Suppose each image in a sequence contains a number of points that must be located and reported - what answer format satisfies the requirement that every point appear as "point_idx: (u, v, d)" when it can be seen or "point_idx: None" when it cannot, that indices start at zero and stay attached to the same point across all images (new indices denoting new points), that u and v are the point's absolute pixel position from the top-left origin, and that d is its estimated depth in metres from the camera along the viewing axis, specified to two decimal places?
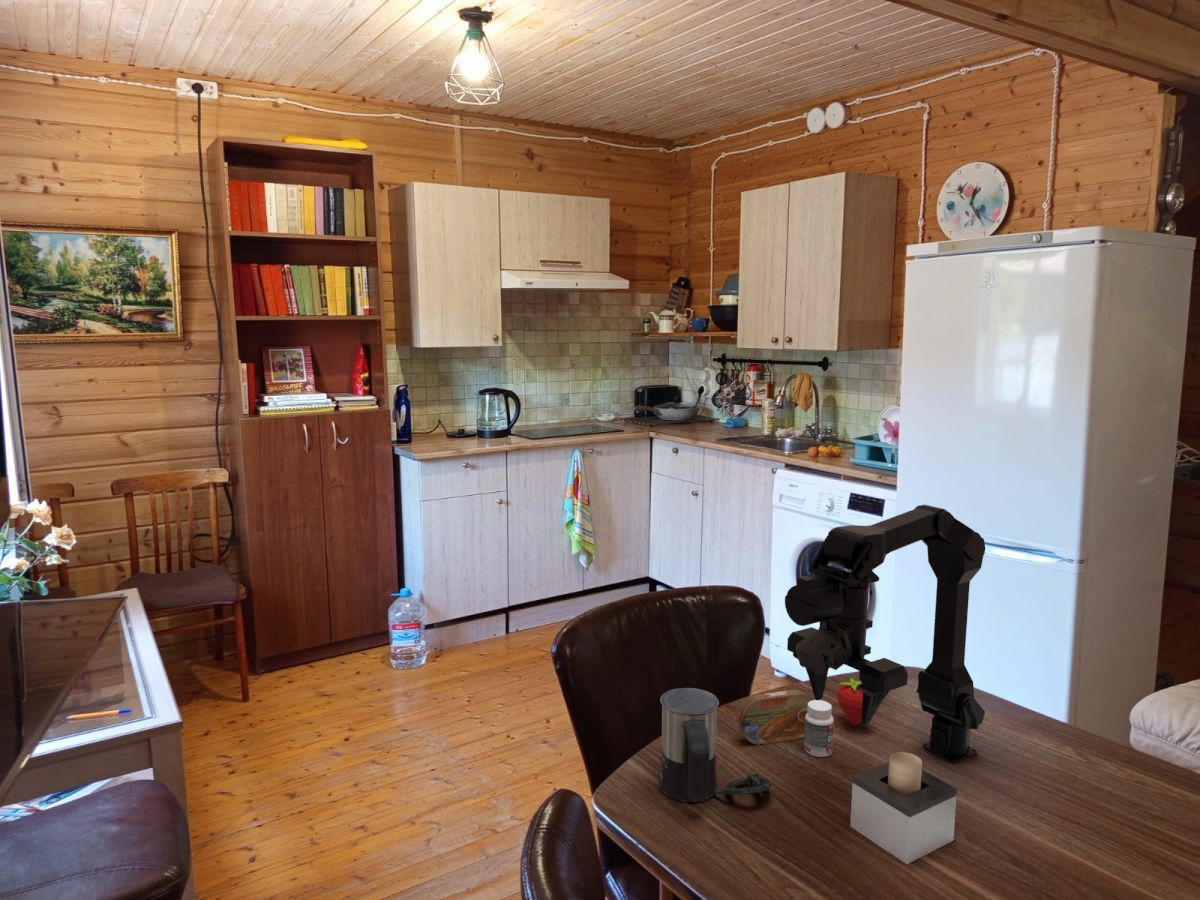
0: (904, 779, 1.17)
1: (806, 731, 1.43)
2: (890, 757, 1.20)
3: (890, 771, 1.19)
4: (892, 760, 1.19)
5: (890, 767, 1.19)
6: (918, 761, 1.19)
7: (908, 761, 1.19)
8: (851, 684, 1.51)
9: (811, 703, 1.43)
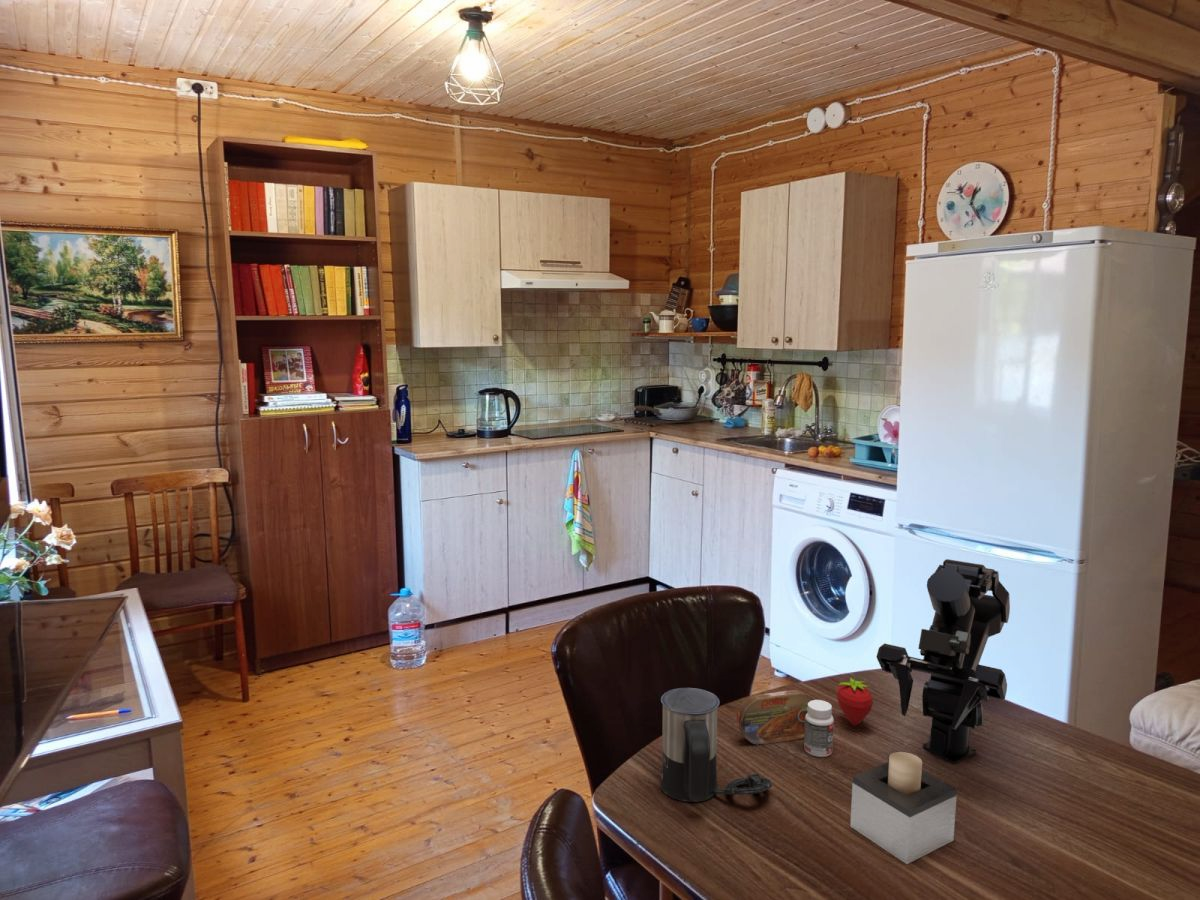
0: (904, 779, 1.17)
1: (806, 731, 1.43)
2: (890, 757, 1.20)
3: (890, 771, 1.19)
4: (892, 760, 1.19)
5: (890, 767, 1.19)
6: (918, 761, 1.19)
7: (908, 761, 1.19)
8: (851, 684, 1.51)
9: (811, 703, 1.43)
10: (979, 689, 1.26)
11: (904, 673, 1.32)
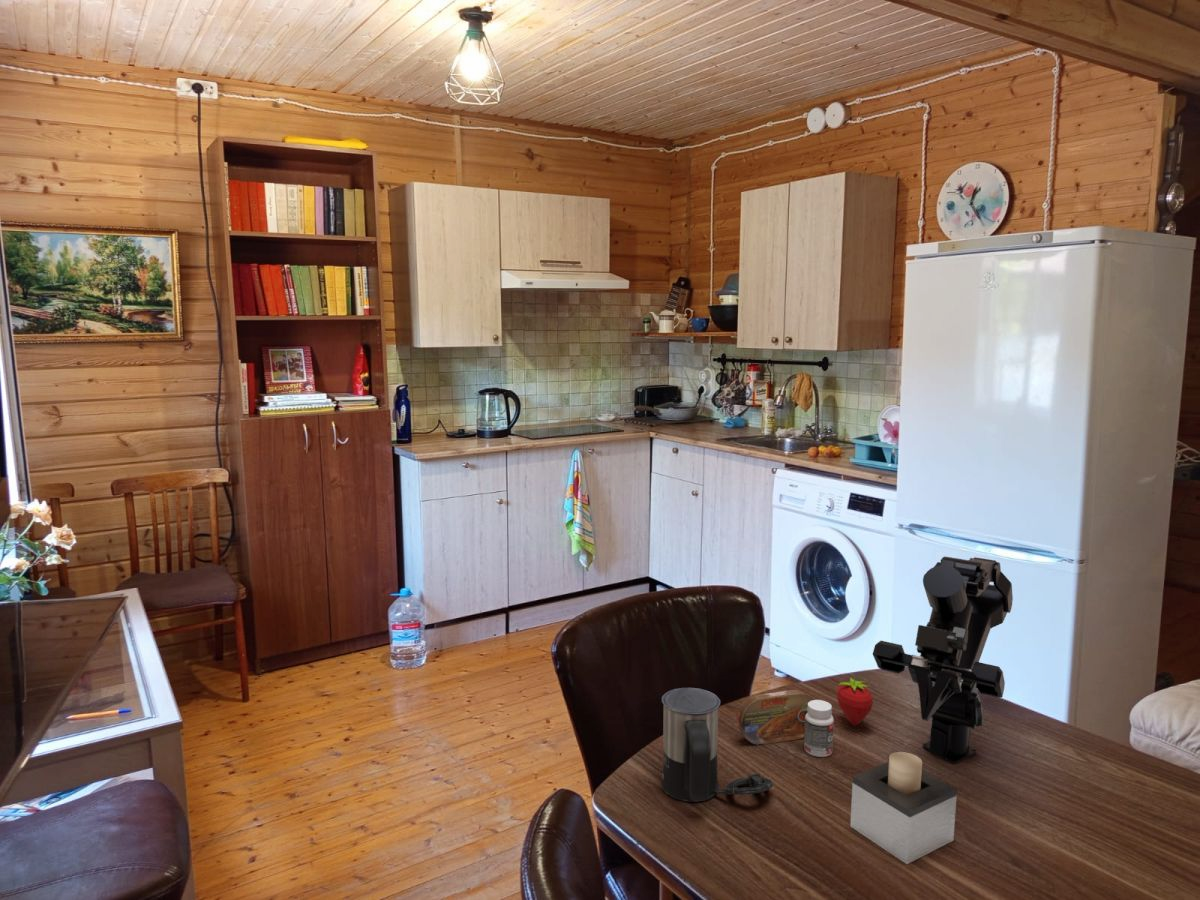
0: (904, 779, 1.17)
1: (806, 731, 1.43)
2: (890, 757, 1.20)
3: (890, 771, 1.19)
4: (892, 760, 1.19)
5: (890, 767, 1.19)
6: (918, 761, 1.19)
7: (908, 761, 1.19)
8: (851, 684, 1.51)
9: (811, 703, 1.43)
10: (951, 680, 1.27)
11: (923, 676, 1.28)
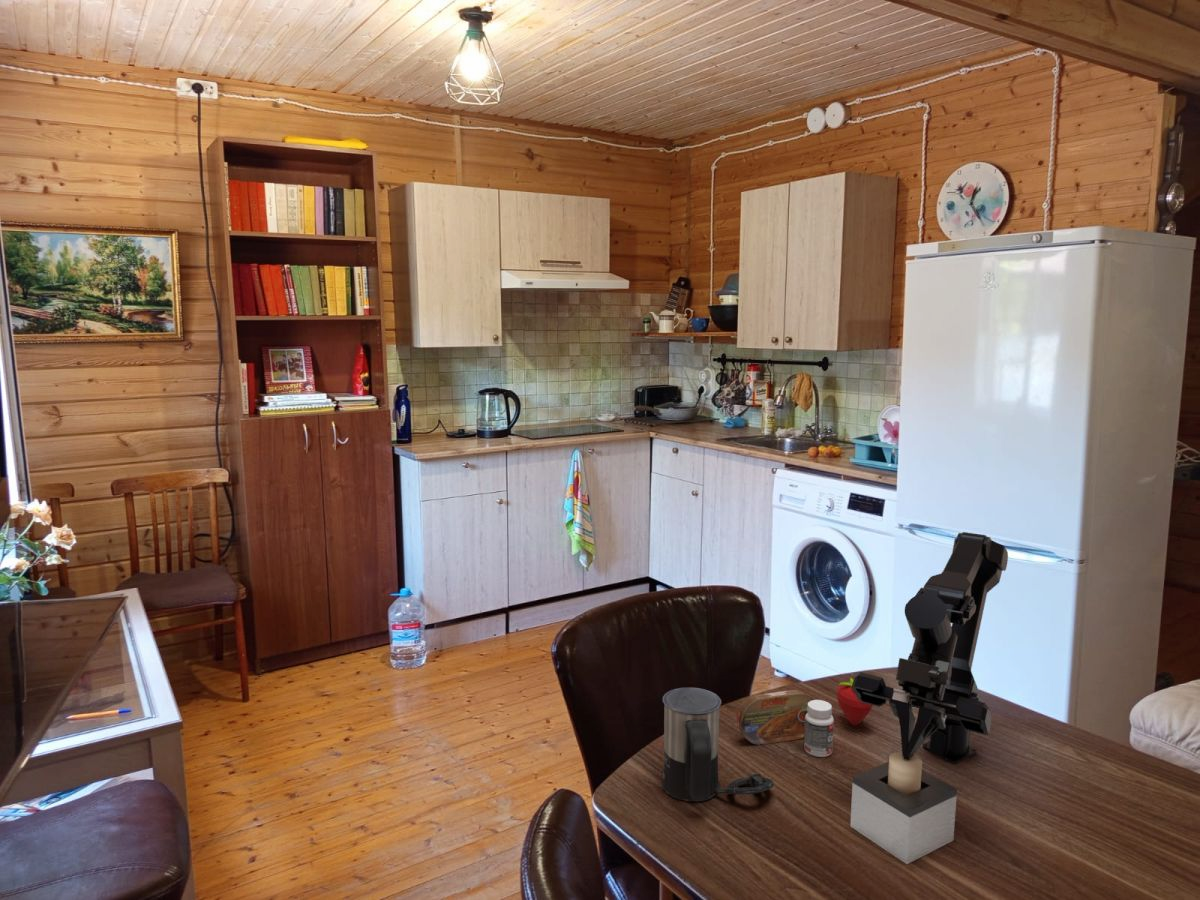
0: (904, 779, 1.17)
1: (806, 731, 1.43)
2: (890, 757, 1.20)
3: (890, 771, 1.19)
4: (892, 760, 1.19)
5: (890, 767, 1.19)
6: (918, 761, 1.19)
7: (908, 761, 1.19)
8: (851, 684, 1.51)
9: (811, 703, 1.43)
10: (934, 717, 1.19)
11: (905, 712, 1.21)
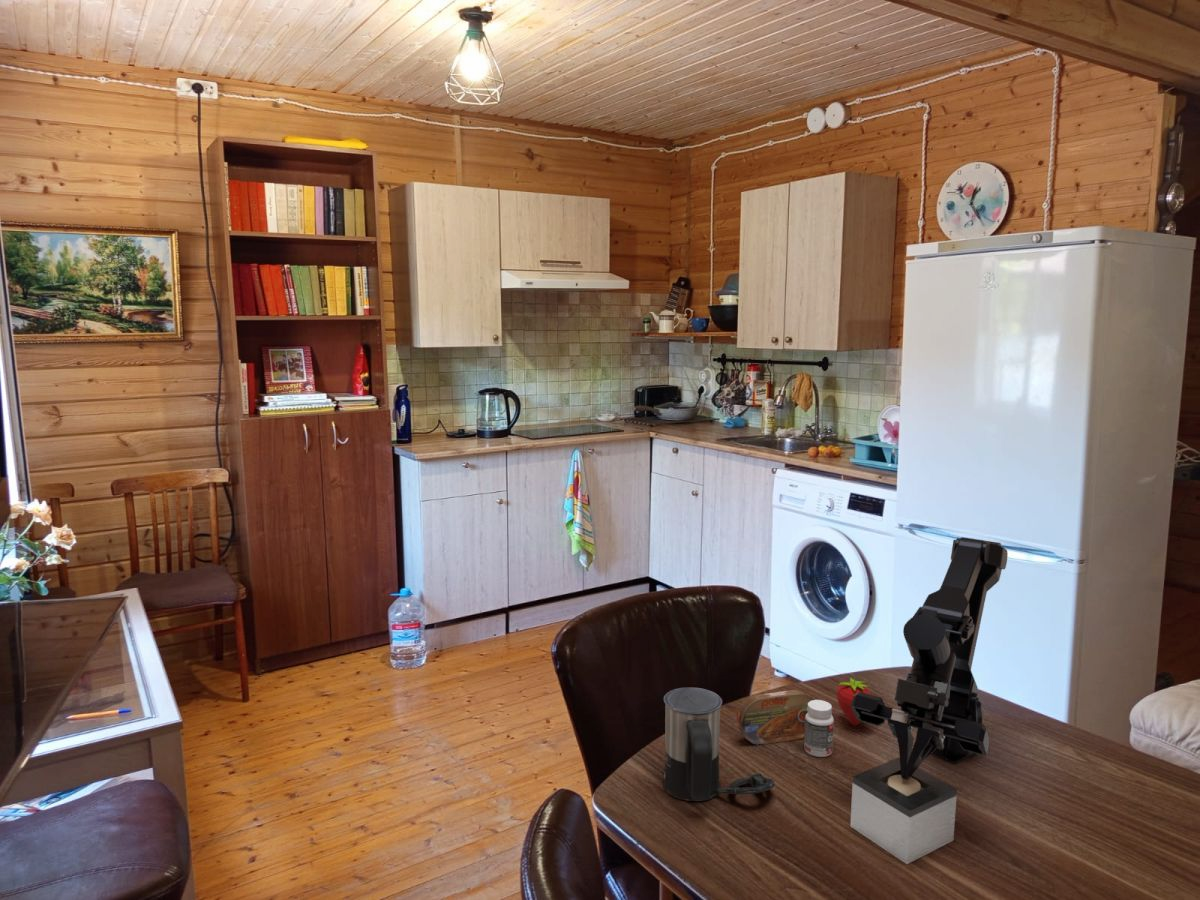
0: None
1: (806, 731, 1.43)
2: (888, 780, 1.20)
3: None
4: (891, 783, 1.19)
5: None
6: (917, 784, 1.19)
7: (906, 784, 1.19)
8: (851, 684, 1.51)
9: (811, 703, 1.43)
10: (933, 737, 1.20)
11: (903, 732, 1.21)
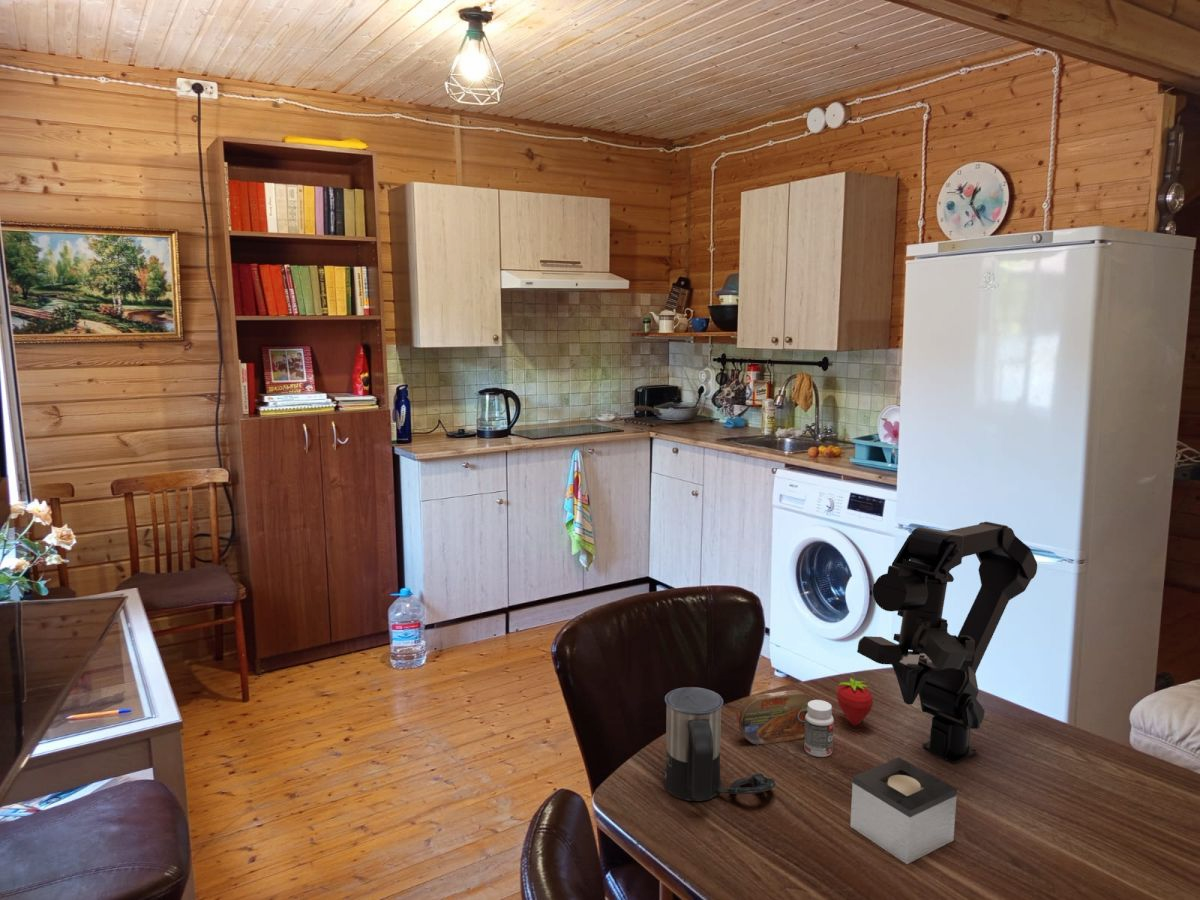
0: None
1: (806, 731, 1.43)
2: (888, 780, 1.20)
3: None
4: (891, 783, 1.19)
5: None
6: (917, 784, 1.19)
7: (906, 784, 1.19)
8: (851, 684, 1.51)
9: (811, 703, 1.43)
10: None
11: (916, 672, 1.31)
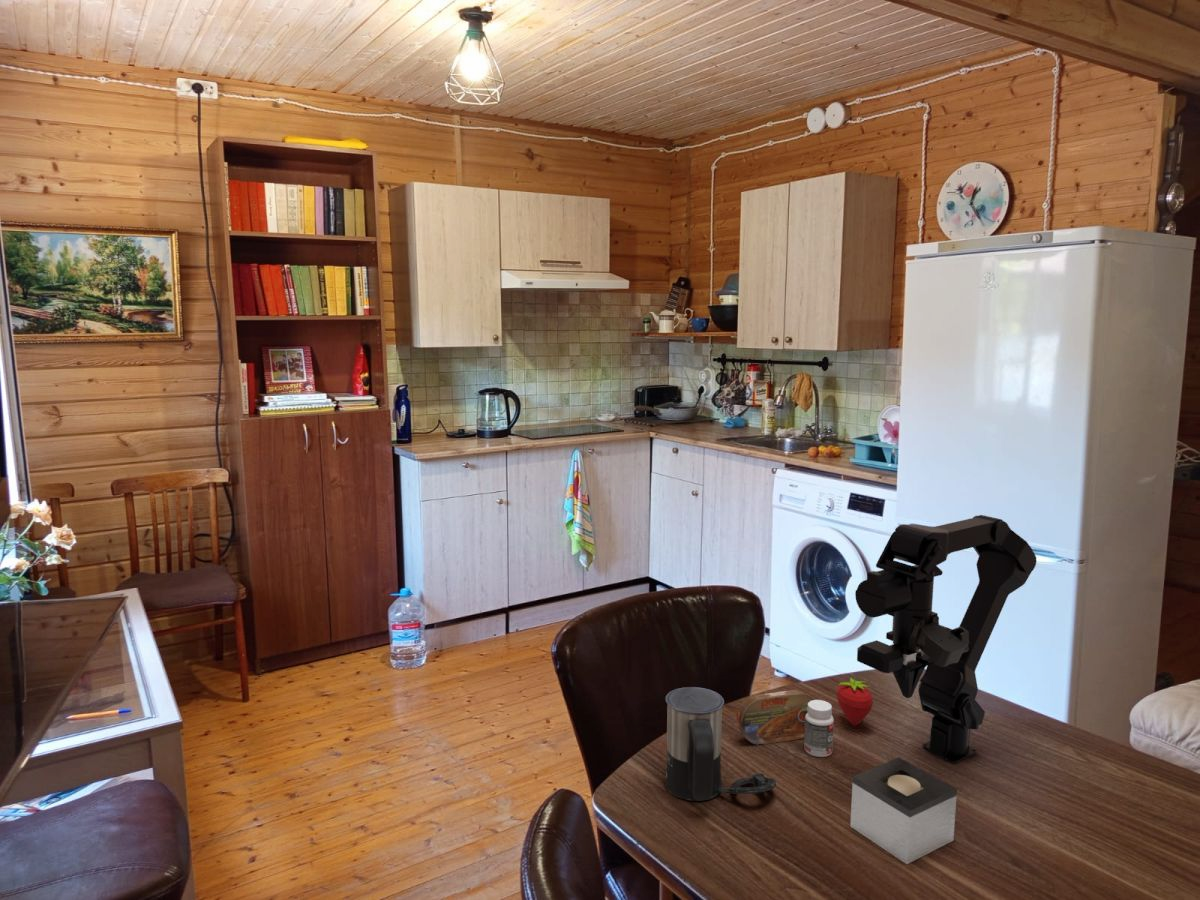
0: None
1: (806, 731, 1.43)
2: (888, 780, 1.20)
3: None
4: (891, 783, 1.19)
5: None
6: (917, 784, 1.19)
7: (906, 784, 1.19)
8: (851, 684, 1.51)
9: (811, 703, 1.43)
10: None
11: (915, 669, 1.32)
